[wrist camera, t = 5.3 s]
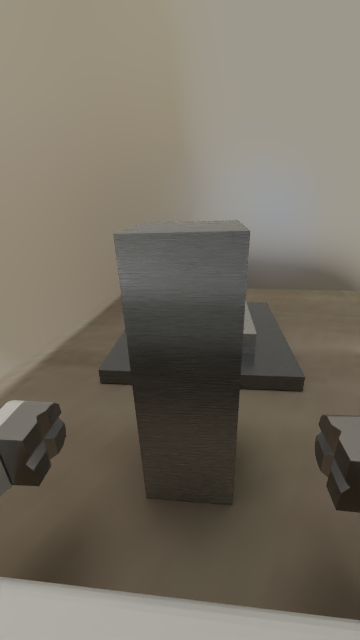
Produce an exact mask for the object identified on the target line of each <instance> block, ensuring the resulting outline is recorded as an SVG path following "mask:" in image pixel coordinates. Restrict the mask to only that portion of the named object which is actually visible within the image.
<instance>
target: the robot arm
mask: <svg viewBox="0 0 360 640" xmlns="http://www.w3.org/2000/svg"><path fill="white" fill-rule="evenodd" d="M60 414H61V410H60V407H59V404H57V403H51V402H37V401H18V400H12V401H9V402H7V403H6V404H5V405H4V406H3V407H2V408H1V409H0V496H1V495H2V494H3V493H5V492H6V491H7V490H8V489H10V488H11V487H12V485H23V486H39V485H40V484H41V482H42V480H43V479H44V477H45V475H46V474H47V472H48V470H49V469H50V467H51V462H50V459H52V458H53V457H54V456H56V455H57V454H59V452H60V450H61V448H62V447H63V444H64V441H65V437H66V428H65V424H64V422H63V421H62V420H60V419H59V418H58V417H59V416H60ZM319 426H320V429H321V431H322V432H321V433H320V434H319V435H317V436H316V441H315V455H316V459H317V463H318V466H319V468H320V471H321V472H322V473H323V474H325V475H326V476H327V477H328V481H327V485H326V486H327V489H328V491H329V494H330V496H331V499H332V501H333V503H334V506H335V508H336V510H339V511H349V512H358V513H360V416H350V415H322V416H321V418H320V422H319ZM0 640H360V620H353V619H345V618H337V617H329V616H321V615H312V614H304V613H296V612H288V611H280V610H271V609H263V608H255V607H247V606H239V605H230V604H222V603H214V602H206V601H197V600H189V599H181V598H173V597H165V596H156V595H148V594H140V593H132V592H124V591H115V590H107V589H99V588H91V587H82V586H74V585H66V584H58V583H49V582H41V581H33V580H25V579H16V578H8V577H0Z"/></svg>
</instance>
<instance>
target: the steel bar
mask: <svg viewBox="0 0 360 640" xmlns="http://www.w3.org/2000/svg"><path fill="white" fill-rule="evenodd" d="M113 235H114V243H115V251H116V257H117V258H116V259H117V267H118V274H119V282H120V290H121V298H122V306H123V314H124V322H125V330H126V338H127V346H128V354H129V362H130V370H131V378H132V386H133V394H134V402H135V410H136V418H137V426H138V434H139V442H140V450H141V458H142V466H143V474H144V482H145V490H146V498H158V499H169V500H181V501H193V502H204V503H216V504H228V505H232V500H233V484H234V469H235V454H236V438H237V423H238V408H239V392H240V377H241V362H242V346H243V331H244V316H245V301H246V284H247V269H248V255H249V239H250V230H249V229H247V228H246V227H245V226H244V225H243V224H242V223H240V222H239V221H238V220H235V221H196V222H163V223H162V222H161V223H142V224H139V225H137V226H134V227H131V228H129V229H126V230H123V231H120V232H118V233H115V234H113Z"/></svg>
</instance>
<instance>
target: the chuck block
mask: <svg viewBox="0 0 360 640" xmlns="http://www.w3.org/2000/svg"><path fill="white" fill-rule="evenodd" d="M99 376H100V381H101V383H111V384H132V378H131V370H130V362H129V354H128V346H127V338H126V330H125V331H124V332H123V334H122V335H121V337H120V338H119V340H118V341H117V343H116V344H115V346H114V347H113V349H112V350H111V352H110V353H109V355H108V356H107V358H106V359H105V361H104V362H103V364H102V365H101V367H100V368H99ZM304 380H305V376H304V374H303V372H302V370H301V368H300V366H299V365H298V363H297V361H296V359H295V357H294V355H293V353H292V351H291V349H290V347H289V345H288V343H287V341H286V339H285V337H284V335H283V334H282V332H281V330H280V328H279V326H278V324H277V322H276V320H275V318H274V316H273V314H272V312H271V310H270V308H269V306H268V304H267V303H246V301H245V316H244V331H243V346H242V362H241V377H240V389H263V390H289V391H303V385H304Z"/></svg>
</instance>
